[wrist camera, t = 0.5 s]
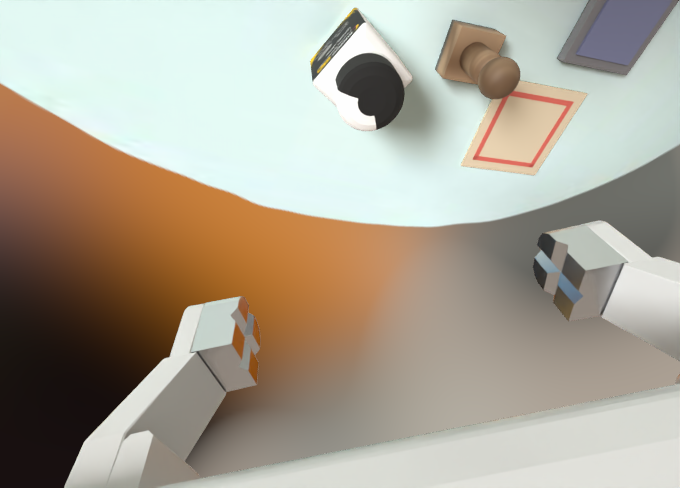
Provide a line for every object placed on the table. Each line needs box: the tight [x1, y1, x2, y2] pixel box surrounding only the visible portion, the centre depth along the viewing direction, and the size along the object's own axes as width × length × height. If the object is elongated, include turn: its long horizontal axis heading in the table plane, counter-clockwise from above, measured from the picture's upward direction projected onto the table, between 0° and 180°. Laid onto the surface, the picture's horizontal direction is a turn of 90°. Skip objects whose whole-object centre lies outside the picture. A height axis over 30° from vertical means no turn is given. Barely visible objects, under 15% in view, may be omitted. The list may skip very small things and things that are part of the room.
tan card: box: [461, 80, 587, 175], centre depth 47 cm, size 12×12×1 cm
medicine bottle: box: [310, 8, 413, 131], centre depth 35 cm, size 7×7×12 cm
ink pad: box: [557, 0, 679, 75], centre depth 38 cm, size 12×9×2 cm
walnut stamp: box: [435, 20, 520, 99], centre depth 36 cm, size 5×5×11 cm
